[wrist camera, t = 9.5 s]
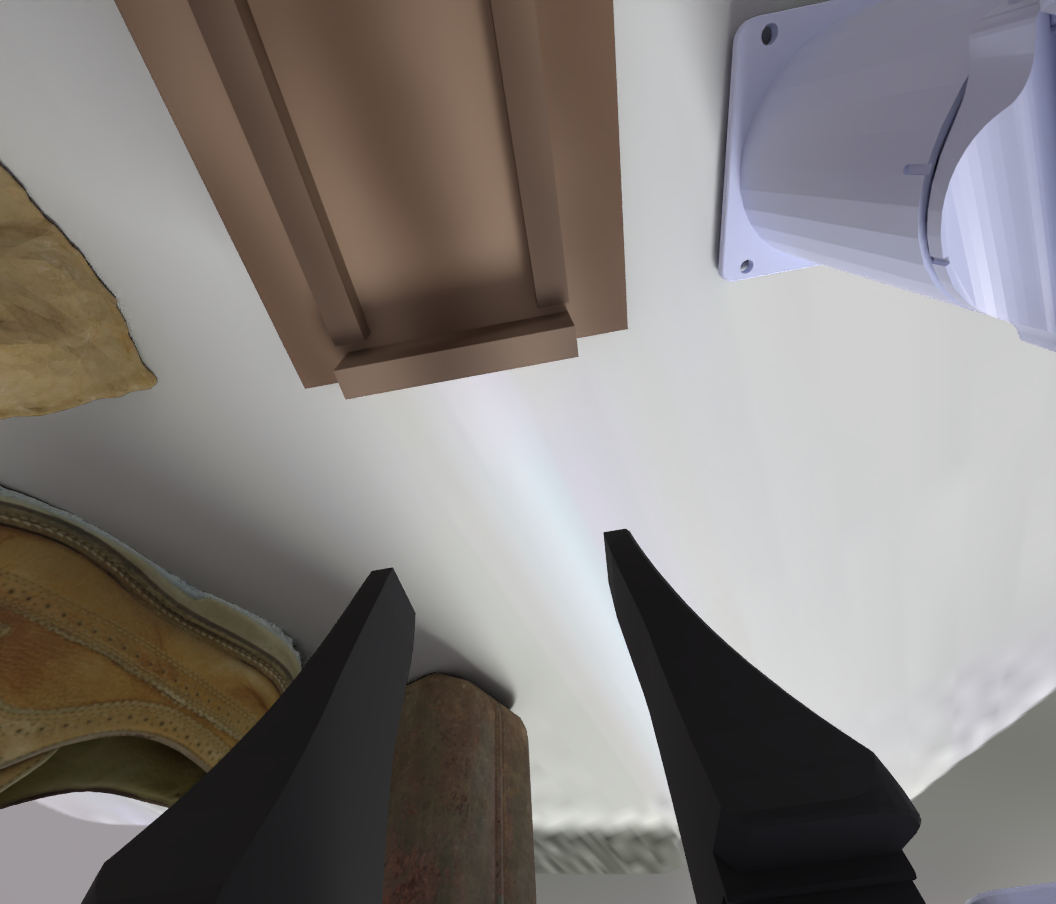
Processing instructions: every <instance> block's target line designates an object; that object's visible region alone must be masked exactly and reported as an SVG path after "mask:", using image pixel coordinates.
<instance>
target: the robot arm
mask: <svg viewBox="0 0 1056 904" xmlns="http://www.w3.org/2000/svg"><path fill="white" fill-rule="evenodd" d="M765 26H768V27H769V28H770V29H771V33H772V36H771V40H770V42H769V43H768V45H764V43H763V42H762V38H761V35H762V31H763V29H764V28H765ZM746 260H748V261H749V265H748V267H747V268H746V270H744V271H742V272H741V270H740V267H741V264H742V263H743V262H744V261H746ZM818 265H825V266H828V267H831V268H834V269H838V270H841V271H844V272H847V273H851V274H854V275H857V276H861V277H864V278H867V279H870V280H874V281H877V282H880V283H884V284H887V285H890V286H893V287H897V288H900V289H903V290H906V291H910V292H913V293H916V294H920V295H923V296H926V297H929V298H933V299H936V300H939V301H942V302H946V303H949V304H952V305H956V306H959V307H962V308H965V309H969V310H972V311H976V312H979V313H982V314H985V315H989V316H992V317H995V318H998V319H1002V320H1005V321H1008V322H1010V323H1012V324H1013V325H1014V327H1015V328H1016V329H1017V331H1018V334H1019V337H1020V339H1021V341H1024V342H1027V343H1030V344H1033V345H1036V346H1039V347H1042V348H1046V349H1049V350H1052V351H1055V352H1056V0H830V1H826V2H821V3H816V4H811V5H807V6H802V7H797V8H793V9H788V10H783V11H778V12H774V13H769V14H764V15H760V16H755V17H753V18H751V19H749V20H747V21H745V22H744V23H743V24H742V25H741V26H740V27H739V28H738V30H737V32H736V34H735V37H734V42H733V53H732V68H731V83H730V99H729V114H728V129H727V145H726V160H725V175H724V191H723V206H722V221H721V237H720V252H719V267H718V271H719V275H720V277H721V278H722V279H724V280H726V281H731V282H733V281H738V280H744V279H749V278H754V277H760V276H765V275H770V274H776V273H781V272H786V271H792V270H797V269H802V268H807V267H813V266H818ZM604 542H605V552H606V562H607V572H608V581H609V586H610V590H611V594H612V599H613V603H614V607H615V611H616V615H617V619H618V622H619V624H620V627H621V630H622V633H623V636H624V639H625V642H626V645H627V647H628V650H629V653H630V656H631V659H632V662H633V665H634V667H635V670H636V673H637V676H638V679H639V682H640V685H641V687H642V690H643V693H644V696H645V699H646V703H647V706H648V709H649V712H650V716H651V720H652V724H653V727H654V731H655V735H656V739H657V743H658V747H659V751H660V755H661V759H662V762H663V766H664V770H665V774H666V778H667V782H668V786H669V790H670V794H671V798H672V802H673V806H674V811H675V815H676V819H677V823H678V827H679V831H680V835H681V839H682V843H683V847H684V852H685V856H686V860H687V864H688V868H689V873H690V877H691V881H692V885H693V890H694V893H695V898H696V902H697V904H926V903H925V901H924V900H923V898H922V897H921V895H920V893H919V891H918V889H917V888H916V886H915V884H914V883H913V881H912V880H915V879H916V878H917V877H916V873H915V871H914V869H913V867H912V866H911V864H910V862H909V861H908V859H907V857H906V856H905V854H904V853H903V851H902V849H903V848H904V846H905V845H906V844H907V843H908V842H909V841H910V839H912V837H913V836H914V835H915V834H916V833H917V831H918V829H919V827H920V824H921V818H920V815H919V813H918V812H917V810H916V809H915V807H914V805H913V804H912V802H911V801H910V799H909V798H908V796H907V795H906V793H905V792H904V790H903V789H902V788H901V786H900V785H899V784H898V782H897V781H896V780H895V779H894V777H893V776H892V775H891V773H890V772H889V771H888V770H887V768H886V767H885V766H884V765H883V763H882V762H881V761H880V760H879V759H878V757H877V756H876V755H875V754H874V753H873V752H872V751H871V750H869V749H868V748H866V747H865V746H863V745H862V744H860V743H858V742H857V741H855V740H854V739H852V738H851V737H849V736H848V735H846V734H845V733H843V732H842V731H840V730H839V729H837V728H836V727H834V726H833V725H832V724H830V723H829V722H827V721H826V720H824V719H823V718H821V717H820V716H818V715H817V714H816V713H814V712H813V711H812V710H810V709H809V708H807V707H806V706H805V705H803V704H802V703H800V702H799V701H798V700H796V699H795V698H794V697H792V696H791V695H789V694H788V693H787V692H786V691H784V690H783V689H782V688H781V687H779V686H778V685H777V684H776V683H774V682H773V681H772V680H770V679H769V678H768V677H767V676H765V675H764V674H763V673H762V672H760V671H759V670H758V669H757V668H755V667H754V666H753V665H751V664H750V663H749V662H748V661H747V660H746V659H744V658H743V657H742V656H741V655H740V654H739V653H737V652H736V651H735V650H734V649H733V648H732V647H731V646H729V645H728V644H727V643H726V642H725V641H724V640H723V639H722V638H721V637H720V636H719V635H717V634H716V633H715V632H714V631H713V630H712V629H711V628H710V627H709V626H708V625H707V624H706V623H705V622H704V621H703V620H702V619H701V618H700V617H699V616H698V615H697V614H696V613H695V612H694V611H693V610H692V609H691V608H690V607H689V606H688V605H687V604H686V603H685V601H684V600H683V599H682V598H681V597H680V596H679V595H678V594H677V593H676V592H675V590H674V589H673V588H672V587H671V586H670V585H669V583H668V582H667V581H666V580H665V579H664V578H663V576H662V575H661V574H660V573H659V572H658V570H657V569H656V568H655V567H654V565H653V564H652V563H651V561H650V560H649V559H648V557H647V556H646V555H645V553H644V552H643V551H642V549H641V548H640V546H639V545H638V544H637V542H636V541H635V539H634V538H633V536H632V534H631V533H630V531H628V530H627V529H621V530H615V531H609V532H604ZM414 629H415V612H414V609H413V607H412V605H411V603H410V601H409V599H408V597H407V595H406V593H405V591H404V589H403V587H402V585H401V583H400V581H399V579H398V577H397V575H396V573H395V571H394V569H393V568H387V569H381V570H375V571H372V572H371V573H370V575H369V576H368V577H367V579H366V580H365V582H364V583H363V585H362V586H361V588H360V589H359V590H358V592H357V593H356V595H355V596H354V598H353V599H352V601H351V602H350V604H349V605H348V607H347V608H346V610H345V611H344V613H343V614H342V616H341V617H340V618H339V620H338V621H337V623H336V624H335V626H334V627H333V628H332V630H331V631H330V633H329V634H328V635H327V637H326V638H325V640H324V641H323V642H322V644H321V645H320V647H319V648H318V649H317V651H316V652H315V653H314V654H313V656H312V657H311V658H310V660H309V661H308V662H307V664H306V665H305V666H304V668H303V669H302V670H301V671H300V673H299V674H298V675H297V677H296V678H295V679H294V680H293V682H292V683H291V684H290V685H289V686H288V688H287V689H286V690H285V691H284V693H283V694H282V695H281V696H280V697H279V698H278V700H277V701H276V702H275V703H274V704H273V705H272V706H271V707H270V709H269V710H268V711H267V712H266V713H265V714H264V715H263V716H262V718H261V719H260V720H259V721H258V722H257V723H256V724H255V725H254V726H253V727H252V728H251V729H250V730H249V731H248V732H247V733H246V734H245V735H244V736H243V738H242V739H241V740H240V741H239V742H238V743H237V744H236V745H235V746H234V747H233V748H232V749H231V750H230V751H229V752H228V753H227V754H226V755H225V756H224V757H223V758H222V759H221V760H220V761H219V762H218V763H217V764H216V765H215V766H214V767H213V768H212V769H211V770H210V771H209V772H208V773H207V774H206V775H205V776H203V777H202V778H201V779H200V780H199V781H198V782H197V783H196V784H195V785H194V786H193V787H192V788H191V789H190V790H188V791H187V792H186V793H185V794H184V795H183V796H182V797H181V798H180V799H179V800H178V801H176V802H175V803H174V804H173V805H172V806H171V807H170V808H169V809H167V810H166V811H165V812H164V813H163V814H162V815H161V816H160V817H158V818H157V819H156V820H155V821H154V822H152V823H151V824H150V825H149V826H148V827H147V828H145V829H144V830H143V831H142V832H141V833H139V834H138V835H137V836H136V837H135V838H134V839H132V840H131V841H130V842H129V843H128V844H126V845H125V846H124V847H123V848H122V849H121V850H119V851H118V852H117V853H116V854H115V855H113V856H112V857H111V858H110V859H108V860H107V861H106V862H105V863H104V864H103V866H102V868H101V869H100V871H99V873H98V874H97V876H96V878H95V880H94V882H93V883H92V885H91V887H90V889H89V890H88V892H87V894H86V896H85V898H84V899H83V901H82V903H81V904H383V880H384V863H385V846H386V831H387V819H388V807H389V794H390V784H391V774H392V765H393V755H394V748H395V741H396V735H397V729H398V724H399V719H400V714H401V709H402V704H403V699H404V694H405V689H406V684H407V679H408V673H409V668H410V663H411V657H412V652H413V642H414ZM965 904H1056V882H1050V883H1043V884H1035V885H1027V886H1020V887H1012V888H1004V889H997V890H992V891H987V892H984V893H980V894H977V895H975V896H973V897H971V898H970V899H968V900H967V901H966V903H965Z"/></svg>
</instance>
